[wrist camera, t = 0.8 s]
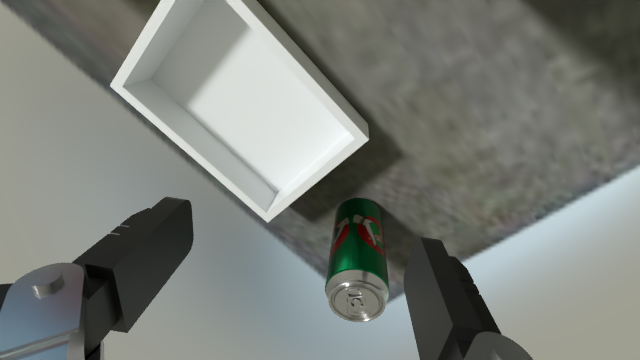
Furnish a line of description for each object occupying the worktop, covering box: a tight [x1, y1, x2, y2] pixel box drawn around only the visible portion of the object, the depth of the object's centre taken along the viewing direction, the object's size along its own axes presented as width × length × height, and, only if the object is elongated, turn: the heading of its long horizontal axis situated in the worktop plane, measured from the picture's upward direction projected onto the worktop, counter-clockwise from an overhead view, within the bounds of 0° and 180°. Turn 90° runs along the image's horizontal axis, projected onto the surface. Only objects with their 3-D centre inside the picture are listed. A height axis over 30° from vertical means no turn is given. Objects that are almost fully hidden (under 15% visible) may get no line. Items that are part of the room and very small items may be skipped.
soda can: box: [325, 198, 390, 322], centre depth 28 cm, size 5×5×12 cm
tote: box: [110, 0, 369, 223], centre depth 26 cm, size 13×18×4 cm
